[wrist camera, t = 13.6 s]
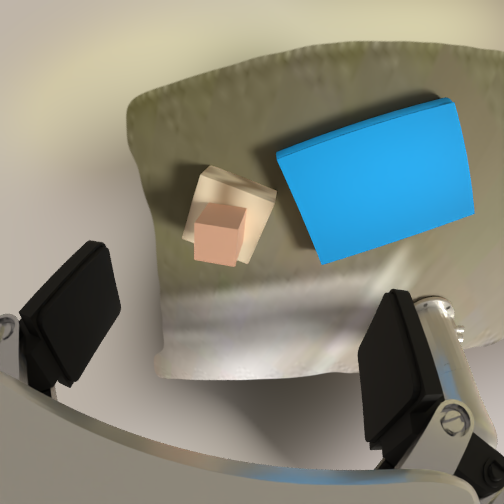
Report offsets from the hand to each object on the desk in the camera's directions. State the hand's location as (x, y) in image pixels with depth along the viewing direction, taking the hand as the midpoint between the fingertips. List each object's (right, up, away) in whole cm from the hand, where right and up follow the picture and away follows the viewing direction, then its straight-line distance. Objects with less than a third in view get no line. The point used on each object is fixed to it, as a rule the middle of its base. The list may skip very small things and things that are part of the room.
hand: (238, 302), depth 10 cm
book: (+18, +12, +28) cm, 36 cm away
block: (-3, +6, +30) cm, 30 cm away
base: (-2, +8, +34) cm, 35 cm away
